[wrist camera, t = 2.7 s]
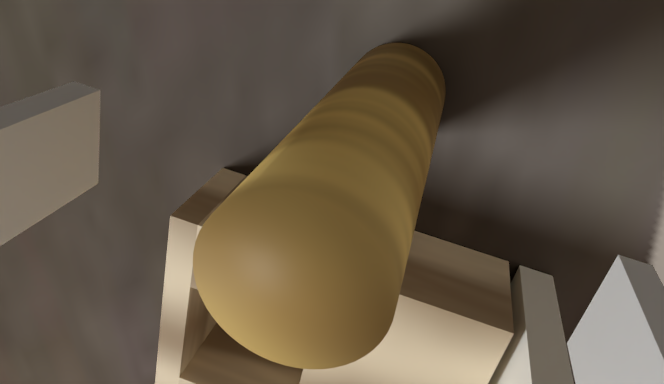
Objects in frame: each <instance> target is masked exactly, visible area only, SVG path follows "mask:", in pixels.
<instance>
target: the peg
mask: <svg viewBox="0 0 664 384" xmlns="http://www.w3.org/2000/svg"><path fill="white" fill-rule="evenodd" d="M445 95H446V86H445V80H444V77H443V74H442V71H441V69H440V67H439V66H438V64H437V63H436V62H435V60H434V59H433V58H432V57H431V56H430V55H429V54H428V53H426V52H425V51H423V50H422V49H420V48H418V47H416V46H413V45H410V44H406V43H388V44H384V45H381V46H378V47H376V48H374V49H372V50H371V51H369V52H368V53H366V54H365V55H364V56H363V57H362V58H361V59H360V60H359V61H358V62H357V63H356V64H355V65H354V66H353V67H352V68H351V69H350V71H349V72H348V73H347V74H346V75H345V76H344V77H343V78H342V79H341V80H340V81H339V82H338V83H337V84H336V85H335V86H334V87H333V88H332V89H331V90H330V91H329V92H328V93H327V94H326V95H325V97H324V98H323V99H322V100H321V101H320V102H319V103H318V104H317V105H316V106H315V107H314V108H313V109H312V110H311V111H310V112H309V113H308V114H307V115H306V116H305V117H304V118H303V119H302V120H301V121H300V123H299V124H298V125H297V126H296V127H295V128H294V129H293V130H292V131H291V132H290V133H289V134H288V135H287V136H286V137H285V138H284V139H283V140H282V141H281V142H280V143H279V144H278V145H277V146H276V147H275V149H274V150H273V151H272V152H271V153H270V154H269V155H268V156H267V157H266V158H265V159H264V160H263V161H262V162H261V163H260V164H259V165H258V166H257V167H256V168H255V169H254V170H253V171H252V172H251V173H250V175H249V176H248V177H247V178H246V179H245V180H244V181H243V182H242V183H241V184H240V185H239V186H238V187H237V188H236V189H235V190H234V191H233V192H232V193H231V194H230V195H229V196H228V197H227V198H226V199H225V200H224V202H223V203H222V204H221V205H220V206H219V207H218V208H217V209H216V210H215V211H214V212H213V213H212V214H211V215H210V216H209V218H208V219H207V220H206V221H205V223H204V224H203V226H202V228H201V229H200V231H199V234H198V236H197V239H196V242H195V246H194V251H193V271H194V278H195V282H196V286H197V289H198V291H199V294H200V296H201V298H202V300H203V302H204V304H205V306H206V308H207V309H208V311H209V312H210V314H211V315H212V317H213V318H214V319H215V321H216V322H217V323H218V324H219V325H220V327H221V328H222V329H223V330H224V331H225V332H226V333H227V334H228V335H229V336H231V337H232V338H233V339H234V340H236V341H237V342H238V343H239V344H241V345H242V346H244V347H245V348H247V349H248V350H250V351H252V352H253V353H255V354H257V355H259V356H261V357H263V358H265V359H268V360H270V361H273V362H276V363H279V364H282V365H285V366H290V367H295V368H302V369H329V368H336V367H340V366H344V365H347V364H350V363H352V362H355V361H357V360H359V359H360V358H362V357H364V356H366V355H367V354H368V353H370V352H371V351H372V350H374V349H375V348H376V347H377V346H378V345H379V344H380V343H381V341H382V340H383V339H384V337H385V336H386V334H387V333H388V331H389V329H390V326H391V324H392V322H393V318H394V315H395V311H396V307H397V302H398V298H399V294H400V290H401V285H402V281H403V277H404V272H405V268H406V264H407V260H408V255H409V251H410V247H411V243H412V238H413V234H414V230H415V226H416V221H417V217H418V213H419V208H420V204H421V200H422V196H423V191H424V187H425V183H426V179H427V174H428V170H429V166H430V161H431V157H432V153H433V149H434V144H435V140H436V136H437V132H438V127H439V123H440V119H441V114H442V110H443V106H444V102H445Z"/></svg>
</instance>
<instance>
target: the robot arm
mask: <svg viewBox="0 0 664 384" xmlns="http://www.w3.org/2000/svg"><path fill="white" fill-rule="evenodd" d="M99 131H100V90H99V89H96V88H93V87H90V86H87V85H84V84H80V83H77V82H74V81H73V82H71V83H68V84H65V85H62V86H59V87H56V88H54V89H51V90H48V91H45V92H42V93H39V94H36V95H34V96H31V97H28V98H25V99H22V100H19V101H16V102H14V103H11V104H8V105H5V106H2V107H0V246H1V245H3V244H4V243H6V242H7V241H9V240H10V239H12V238H14V237H15V236H17V235H18V234H20V233H21V232H23V231H25V230H26V229H28V228H29V227H31V226H32V225H34V224H35V223H37V222H39V221H40V220H42V219H43V218H45V217H46V216H48V215H50V214H51V213H53V212H54V211H56V210H57V209H59V208H61V207H62V206H64V205H65V204H67V203H68V202H70V201H71V200H73V199H75V198H76V197H78V196H79V195H81V194H82V193H84V192H86V191H87V190H89V189H90V188H92V187H93V186H95V185H97V184H98V174H99ZM567 346H568V351H569V355H570V360H571V365H572V370H573V374H574V379H575V384H664V286H663V284H662V282H661V281H660V279H659V277H658V275H657V273H656V271H655V269H654V267H653V265H650V264H646V263H643V262H640V261H637V260H634V259H631V258H628V257H624V256H621V255H618V256H617V258H616V259H615V261H614V263H613V265H612V266H611V268H610V270H609V272H608V273H607V275H606V277H605V278H604V280H603V282H602V284H601V285H600V287H599V289H598V291H597V292H596V294H595V296H594V297H593V299H592V301H591V303H590V304H589V306H588V308H587V309H586V311H585V313H584V315H583V316H582V318H581V320H580V322H579V323H578V325H577V327H576V328H575V330H574V332H573V334H572V335H571V337H570V339H569V341H568V342H567Z"/></svg>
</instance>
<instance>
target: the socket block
mask: <svg viewBox="0 0 664 384" xmlns="http://www.w3.org/2000/svg"><path fill="white" fill-rule="evenodd" d="M247 177H248V176H246V175H243V174H240V173H237V172H234V171H231V170H228V169H225V168H222V169H221V170H220V171H219V172H218V173H217V174H216V175H215V176H213V177H212V178H211V179H210V180H209V181H208V182H207V183H206V184H205V185H203V186H202V187H201V188H200V189H199V190H198V191H197V192H196V193H195V194H194V195H192V196H191V197H190V198H189V199H188V200H187V201H186V202H185V203H184V204H183V205H181V206H180V207H179V208H178V209H177V210H176V211H175V212H174V213H173V214H172V215H170V224H169V235H168V246H167V257H166V268H165V279H164V290H163V301H162V312H161V323H160V334H159V345H158V356H157V367H156V378H155V384H488V383H489V381H490V379H491V377H492V375H493V373H494V371H495V369H496V367H497V365H498V363H499V362H500V360H501V358H502V356H503V354H504V352H505V350H506V348H507V346H508V344H509V342H510V340H511V338H512V336H513V335H514V328H513V314H512V300H511V286H510V272H509V261H506V260H503V259H500V258H497V257H494V256H490V255H487V254H484V253H481V252H478V251H475V250H472V249H469V248H466V247H463V246H460V245H457V244H454V243H451V242H448V241H445V240H442V239H439V238H436V237H432V236H429V235H426V234H423V233H420V232H417V231H414V234H413V238H412V243H411V247H410V251H409V255H408V260H407V264H406V268H405V272H404V277H403V281H402V285H401V290H400V294H399V298H398V302H397V307H396V311H395V315H394V318H393V322H392V324H391V326H390V329H389V331H388V333H387V334H386V336H385V337H384V339H383V340H382V341H381V343H380V344H379V345H378V346H377V347H376V348H375V349H374V350H372V351H371V352H370V353H368V354H367V355H366V356H364V357H362V358H360V359H359V360H357V361H355V362H352V363H350V364H347V365H344V366H340V367H336V368H329V369H302V368H295V367H290V366H285V365H282V364H279V363H276V362H273V361H270V360H268V359H265V358H263V357H261V356H259V355H257V354H255V353H253V352H252V351H250V350H248V349H247V348H245V347H244V346H242V345H241V344H239V343H238V342H237V341H236V340H234V339H233V338H232V337H231V336H229V335H228V334H227V333H226V332H225V331H224V330H223V329H222V328H221V327H220V325H219V324H218V323H217V322H216V321H215V319H214V318H213V317H212V315H211V314H210V312H209V311H208V309H207V308H206V306H205V304H204V302H203V300H202V298H201V296H200V294H199V291H198V289H197V286H196V282H195V278H194V271H193V251H194V246H195V242H196V239H197V236H198V234H199V231H200V229H201V228H202V226H203V224H204V223H205V221H206V220H207V219H208V218H209V216H210V215H211V214H212V213H213V212H214V211H215V210H216V209H217V208H218V207H219V206H220V205H221V204H222V203H223V202H224V200H225V199H226V198H227V197H228V196H229V195H230V194H231V193H232V192H233V191H234V190H235V189H236V188H237V187H238V186H239V185H240V184H241V183H242V182H243V181H244V180H245V179H246V178H247Z"/></svg>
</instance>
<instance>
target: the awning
mask: <svg viewBox="0 0 664 384" xmlns="http://www.w3.org/2000/svg"><path fill="white" fill-rule="evenodd" d="M510 286H511V300H512V314H513V328H514V335H513V336H512V338H511V340H510V342H509V344H508V346H507V348H506V350H505V352H504V354H503V356H502V358H501V360H500V362H499V363H498V365H497V367H496V369H495V371H494V373H493V375H492V377H491V379H490V381H489V383H488V384H574V382H573V376H572V371H571V366H570V361H569V356H568V351H567V346H566V341H565V336H564V331H563V326H562V320H561V315H560V310H559V305H558V300H557V295H556V290H555V285H554V280H553V276H551V275H548V274H545V273H542V272H539V271H536V270H533V269H530V268H527V267H524V266H521V265H519V267H518V270H517V272H516V274H515V276H514V278H513V280H512V282H511V284H510Z"/></svg>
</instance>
